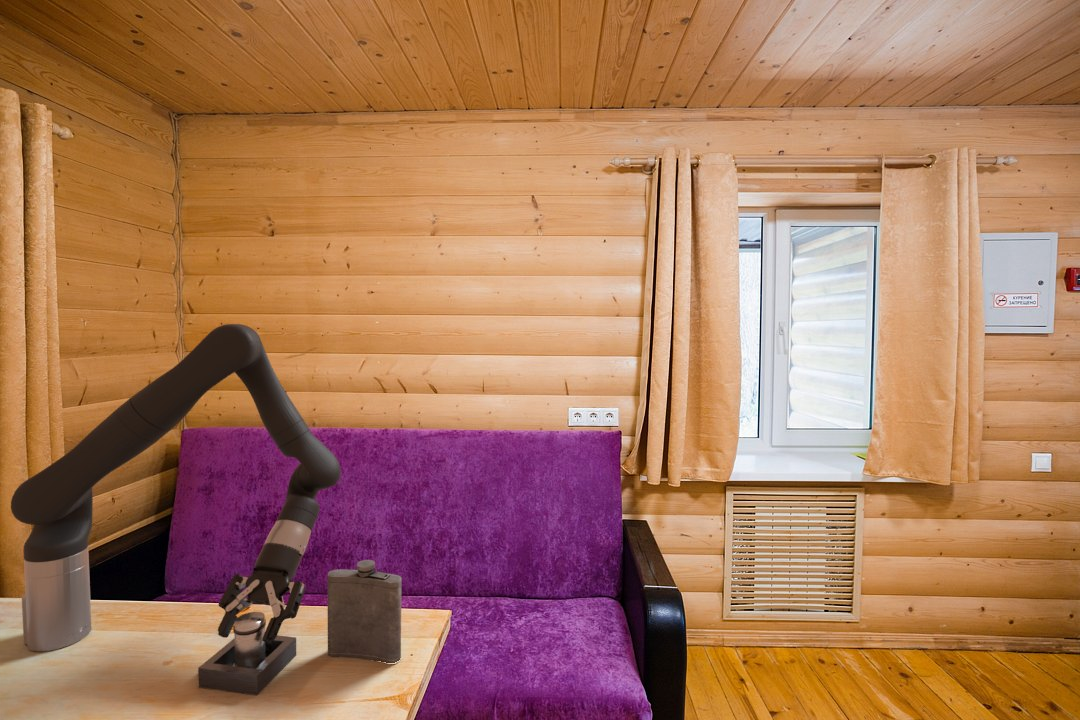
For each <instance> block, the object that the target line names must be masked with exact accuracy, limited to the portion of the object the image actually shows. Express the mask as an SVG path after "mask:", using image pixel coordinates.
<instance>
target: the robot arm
mask: <svg viewBox="0 0 1080 720" xmlns="http://www.w3.org/2000/svg"><path fill="white" fill-rule="evenodd" d="M265 349H266V348H265V347H264V345H263V342H262V339H261V337H260V335H259V333H258V332H257V331H256V330H255V329H254V328H252V327H250V326H248V325H245V324H240V323H227V324H222V325H220V326H217V327H215V328H214V329H212V330H211V331H210V332H209V333H208V334H207V335H206V336H205V337H203V339H202V340H201V341H200V342H199V343H198V344H197V345H196V346H195V347H194V348H193V349H192V350H191V351H190V352H189V353H188V354H187V355H186V356H185V357H184V358H183V359H182V360H180V362H178V363H177V364H176V365H175V366H173V367H172V368H170V370H168V371H166V372H165V373H163V374H161V375H160V376H158V377H157V378H155V379H154V380H153V381H152V382H149V384H148V385H146V386H144V387H143V388H142V389H140V390H139V391H138V392H136V393H135V394H134V395H132V396H131V397H130V398H128V399H127V400H126V401H125V402H123V403H122V404H121V405H119V406H118V407H117V408H116V409H115V410H114V411H113V412H111V414H109V415H108V416H107V417H106V418H105V419H103V420H102V422H100V423H98V425H96V427H95V428H94V429H92V430H91V431H90V432H89V433H88V434H87V435H86V436H85V437H84V438H83V439H82V440H81V441H80V442H79V443H78V444H77V445H75V446H74V447H73V448H72V449H71V450H70V451H68V452H67V453H66V454H64V455H63V456H61V457H60V458H59V459H57V460H56V461H55V462H53V463H52V464H50V465H49V466H47V467H46V468H44V469H43V470H41V471H39V472H38V473H36V474H34V475H33V476H32V477H29V478H28V479H26V480H25V481H23V482H22V483H20V485H19V486H18V487H17V488H16V489H15V491H14V493H13V494H12V497H11V500H10V510H11V514H12V515H13V517H14V518H15V519H16V520H17V521H19V522H20V523H22V524H26V525H30V526H33V527H32V530H31V532H30V534H29V535H28V538H27V539H26V540H25V543H24V545H23V570H24V585H25V586H24V589H25V593H24V594H23V595H22V596H21V608H22V609H21V615H22V628H23V629H22V632H23V633H22V634H23V635H22V636H23V644H24V645H27V648H28V649H29V651H32V652H49V651H54V650H58V649H62V648H65V647H68V646H71V645H73V644H75V643H77V642H79V641H81V640H82V639H84V638H85V637H87V636H88V635H89V634H90V633H91V630H92V610H91V609H92V604H91V585H90V584H91V581H90V579H91V578H90V559H89V558H90V556H89V555H90V554H89V538H90V533H91V531H92V527H93V511H94V510H93V507H94V506H93V505H94V504H93V501H94V500H93V499H94V498H93V497H94V496H93V488H94V486H95V485H96V484H97V483H99V482H100V481H101V480H103V479H104V478H105V477H106V476H108V475H110V474H111V473H112V472H113V471H115V470H117V469H118V468H120V467H122V466H123V465H126V463H128V462H130V461H131V460H133V459H134V458H136V457H138V456H139V455H140V454H141V453H143V452H145V451H146V450H147V449H149V448H150V447H151V446H153V445H154V444H156V443H157V442H158V441H160V439H162V438H163V437H164V436H165V435H166V434H168V433H169V432H170V431H172V429H174V428H175V427H176V426H177V425H178V424H179V423H180V422H181V421H182V420H183V419H184V418H185V417H186V416H187V415H188V414H189V413H190V411H191V410H192V409H193V408H194V407H195V405H196V404H197V403H198V402H199V400H200V399H201V398H202V397H203V396H204V395H205V394H207V392H209V390H211V389H212V388H214V387H215V386H216V385H218V384H219V383H221V382H222V381H224V380H225V379H226V378H228V377H229V376H231V375H232V374H234V373H235V374H236V375H237V377H238V378H239V379H240V381H241V382H242V383H243V385H244V386H245V387H246V389H247V391H248V392H249V394H250V396H251V397H252V400H253V402H254V405H255V407H256V409H257V413H258V415H259V417H260V420H261V421H262V423H263V426H264V427H265V430H266V431H267V433H268V434H269V436H270V438H271V439H272V440H273V442H274V444H275V445H276V446H277V448H278V450H279V451H280V453H281V454H282V455H284V456H285V457H287V458H294V459H296V460H297V461H298V462H299V463H300V464H298V465H297V466H296V468H295V469H294V471H293V472H292V474H291V476H290V479H289V481H288V482H289V483H288V486H287V490H286V497H285V503H284V504H283V506H282V508H281V510H280V513H279V514H278V517H277V519H276V521H275V523H274V525H273V526H272V528H271V530H269V534H268V536H267V537H266V539H265V542H264V544H263V545H262V548H261V550H260V553H259V554H258V556H257V558H256V561H255V563H254V566H253V571H252V573H251V574H250V575H249V576H248V577H247V576H242V575H241V574H239V573H235V574H234V575H233V577H232V578H231V580H230V582H229V584H228V585H227V588H226V589H225V591H224V593H223V595H222V597H221V598H220V601H218V607H220V608H221V609H223V610H224V611H225V612H224V615H223V616H222V619H221V621H220V623H219V626H218V627H217V628H218V629H217V632H218V634H217V635H218V636H219V637H221V638H228V637H229V636H230V634H231V631H232V629H233V627H234V621H235V620H236V619H237V618H238V614H239V613H241V612H242V611H243V610H244V609H246V608H249V607H251V606H252V605H253V604H254V605H262V604H263V605H266V606H270V607H271V611H272V615H273V617H270V620H269V621H268V624H267V626H266V627H265V633H264V636H263V638H262V641H264V642H265V643H271V642H272V640H274V639H275V638H276V637H277V635H278V634H279V631H280V629H281V626H282V624H283V622H284V621H285V620H287V619H295V618H296V617H297V615H298V613H299V609H300V605H301V604H302V603H301V602H302V600H303V597H304V594H305V591H306V587H307V586H306V584H304V583H303V582H302V581H301V580H299V579H298V580H296V581H293V578H294V577H295V576H296V573H297V572H298V571H297V570H298V568H299V566H300V563H301V561H302V558H303V556H304V554H305V552H306V550H307V547H308V543H309V541H310V537H311V533H312V531H313V529H314V526H315V524H316V521H317V519H318V516H319V513H320V510H321V509H320V507H321V506H320V503H319V502H318V501H317V500H316V498H317V495H318V493H319V491H323V490H327V489H329V488H332V487H334V486H335V485H336V484H338V483H339V481H340V479H341V475H342V473H341V472H342V471H341V465H340V462H339V461H338V459H337V457H336V455H335V454H334V453H333V452H332V451H331V450H329V448H328V447H326V446H325V445H324V443H322V441H321V440H319V439H318V438H317V437H315V435H314V434H313V432H312V431H311V429H310V427H309V426H308V424H307V423H306V421H305V419H304V418H303V416H302V414H301V413H300V412H299V411H298V409H297V408H296V406H295V404H294V402H293V401H292V400H291V398H290V396H289V395H288V393H287V392H286V390H285V389H284V387H283V385H282V383H281V382H280V380H279V378H278V376H277V374H276V373H275V371H274V369H273V366H272V364H271V361H270V359H269V356H268V354H267V351H266V350H265ZM241 590H242V591H241ZM288 592H289V593H290V595H289V596H288V599H287V602H286V605H285V602H284V597H283V596H285V594H287V593H288ZM89 632H90V633H89Z"/></svg>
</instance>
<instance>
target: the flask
mask: <svg viewBox="0 0 1080 720" xmlns="http://www.w3.org/2000/svg"><path fill="white" fill-rule="evenodd" d="M375 567H376V561H374V560H372V559H362V560H361V561H357V563H356V569H333V570H330V571H329V572H327V657H329V658H332V659H333V658H334V659H335V658H337V659H339V658H341V659H343V658H344V659H357V660H364V661H365V660H366V661H371V660H373V661H372V662H377V661H381V662H386V663H395V662H397V661H399V660H400V658H401V659H402V576H400V575H396V574H393V573H387V572H382V571H377V570H375ZM400 661H401V660H400ZM381 662H380V663H381Z"/></svg>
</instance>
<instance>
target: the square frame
mask: <svg viewBox="0 0 1080 720" xmlns="http://www.w3.org/2000/svg"><path fill="white" fill-rule="evenodd" d="M296 657H297V637H295V636H286V635H278V634H277V637H276V638H275V639H274V640H272V642H271V643H265V660H264V661H263V662H262V663H261V664H260V665H259V666H258V667H257V668H255V669H251V668H244V667H236V666H235V637H234V638H233V639H232V640H231V641H229V642H228V643H226V644H225V645H224V646H223V647H222V648H221V649H219V650H218V651H217V652H215V654H214V655H212V656H211V657H210V658H208V659H207V660H206V661H205V662H203V663H202V664H201V665H199V666H198V667H197V669H198V670H197V671H198V672H197V673H198V675H197V676H198V677H197V678H198V688H201V689H208V690H215V691H222V692H230V693H236V694H243V695H249V696H258V695H259V694H261V693H262V692H263V690H264V689H265V688H267V686H268V685H269V684H270V683H271V682H272V681H273V680H274V679H275V678H276V677H277V676H278V675H279V674H280V673H281V672H282V671H283V670H284V669H285V668H286V667H287V665H288V664H290V662H292V661H293V660H294V658H296Z"/></svg>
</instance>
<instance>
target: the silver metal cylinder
mask: <svg viewBox="0 0 1080 720" xmlns="http://www.w3.org/2000/svg"><path fill="white" fill-rule="evenodd" d="M266 621H267V619H266V616H265V613H264V612H261V611H250V612H247V613H243V614H241V615H239V616H237V619H236V620H235V621H234V625H233V627H232V629H233V633H234V638H235V664H234V666H236V667H244V668H251V669H255V668H257V667H258V666H259V665H260V664H261V663H262V662H263V661H264V660H265V659H266V657H265V642H264V641H262V638H263V636H264V633H265V631H266V625H267V622H266Z"/></svg>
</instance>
